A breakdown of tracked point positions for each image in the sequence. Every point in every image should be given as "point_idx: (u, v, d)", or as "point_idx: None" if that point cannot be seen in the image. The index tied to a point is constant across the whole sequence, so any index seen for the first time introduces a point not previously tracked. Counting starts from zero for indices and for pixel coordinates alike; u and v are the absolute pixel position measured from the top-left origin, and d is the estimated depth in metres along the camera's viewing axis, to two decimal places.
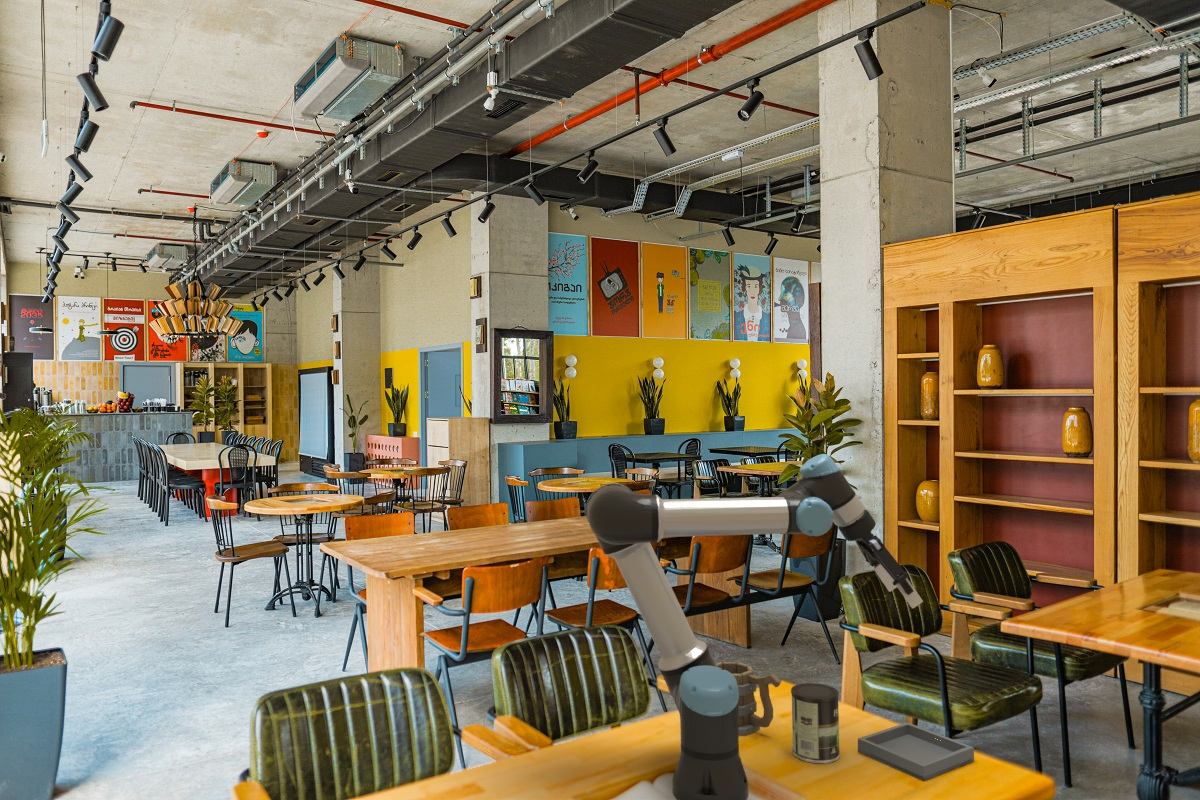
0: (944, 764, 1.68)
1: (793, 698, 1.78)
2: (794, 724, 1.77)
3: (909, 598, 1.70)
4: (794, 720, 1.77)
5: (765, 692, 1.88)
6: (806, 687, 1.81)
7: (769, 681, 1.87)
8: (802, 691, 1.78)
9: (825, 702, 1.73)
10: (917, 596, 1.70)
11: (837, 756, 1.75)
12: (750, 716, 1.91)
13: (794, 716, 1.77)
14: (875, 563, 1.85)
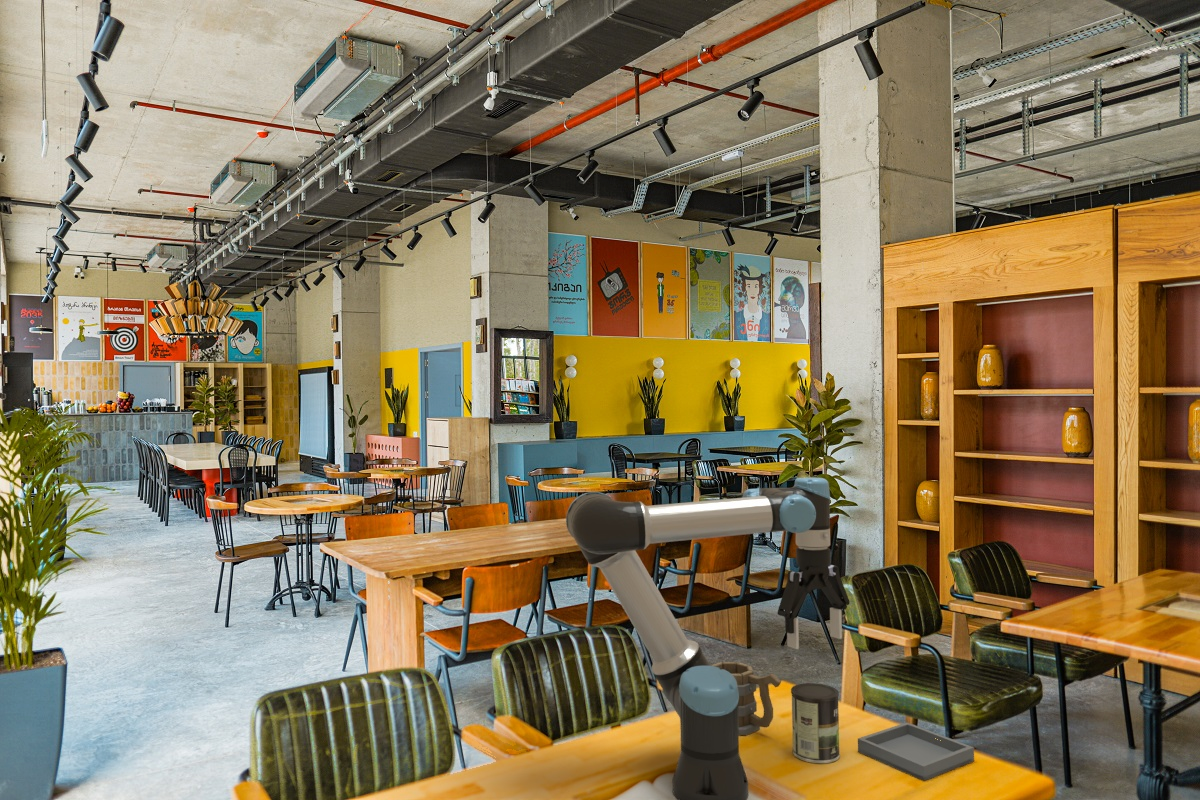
0: (944, 764, 1.68)
1: (793, 698, 1.78)
2: (794, 724, 1.77)
3: (789, 636, 1.75)
4: (794, 720, 1.77)
5: (765, 692, 1.88)
6: (806, 687, 1.81)
7: (769, 681, 1.87)
8: (802, 691, 1.78)
9: (825, 702, 1.73)
10: (794, 641, 1.74)
11: (837, 756, 1.75)
12: (750, 716, 1.91)
13: (794, 716, 1.77)
14: (835, 605, 1.83)
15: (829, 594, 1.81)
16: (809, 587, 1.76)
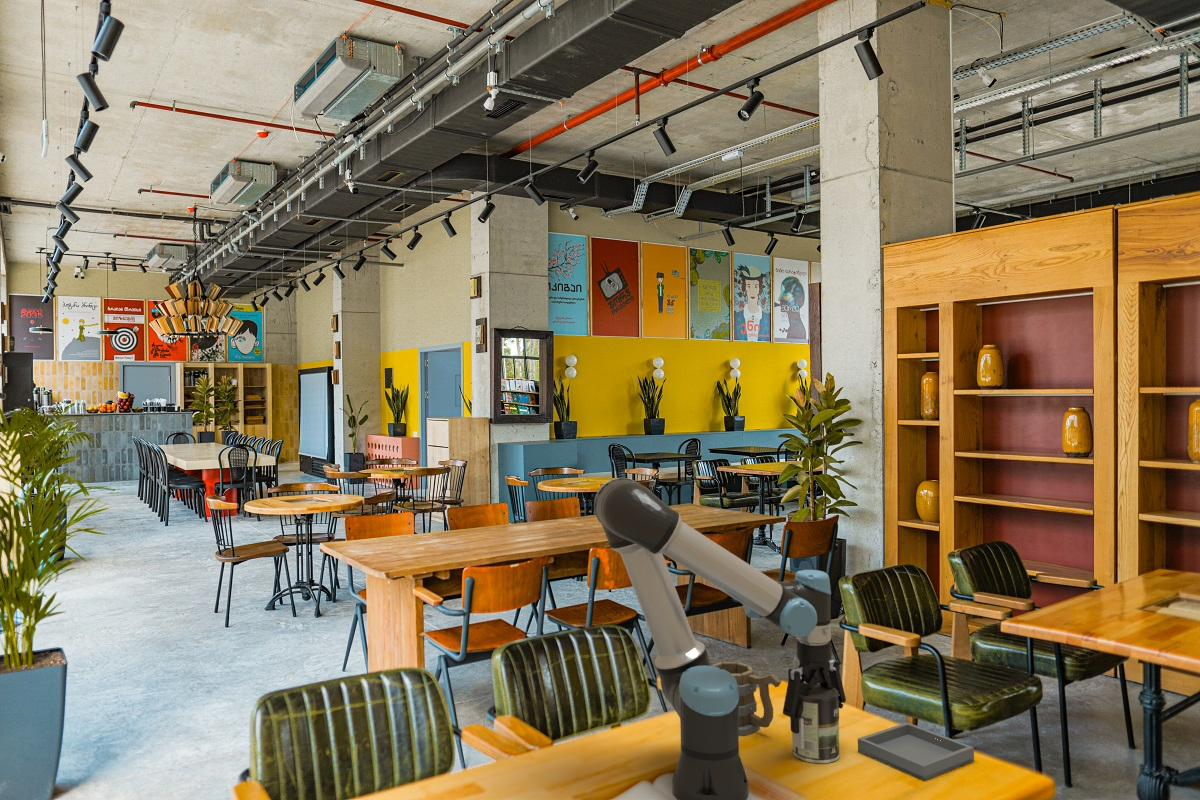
0: (944, 764, 1.68)
1: None
2: None
3: (794, 735, 1.76)
4: None
5: (765, 692, 1.88)
6: None
7: (769, 681, 1.87)
8: None
9: (825, 702, 1.73)
10: (800, 741, 1.74)
11: (837, 756, 1.75)
12: (750, 716, 1.91)
13: None
14: None
15: None
16: (811, 684, 1.75)
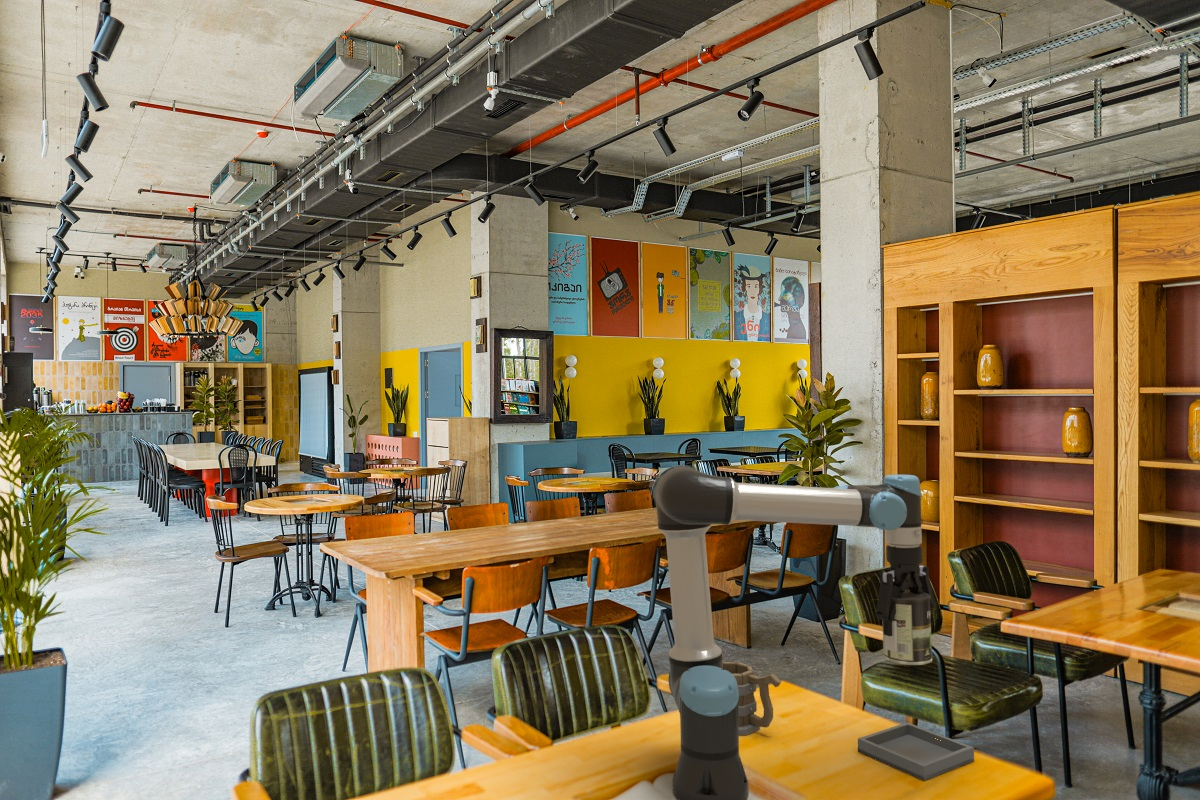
0: (944, 764, 1.68)
1: None
2: None
3: (887, 639, 1.74)
4: None
5: (765, 692, 1.88)
6: None
7: (769, 681, 1.87)
8: None
9: (919, 603, 1.72)
10: (893, 643, 1.73)
11: (930, 658, 1.73)
12: (750, 716, 1.91)
13: None
14: None
15: None
16: (903, 586, 1.74)
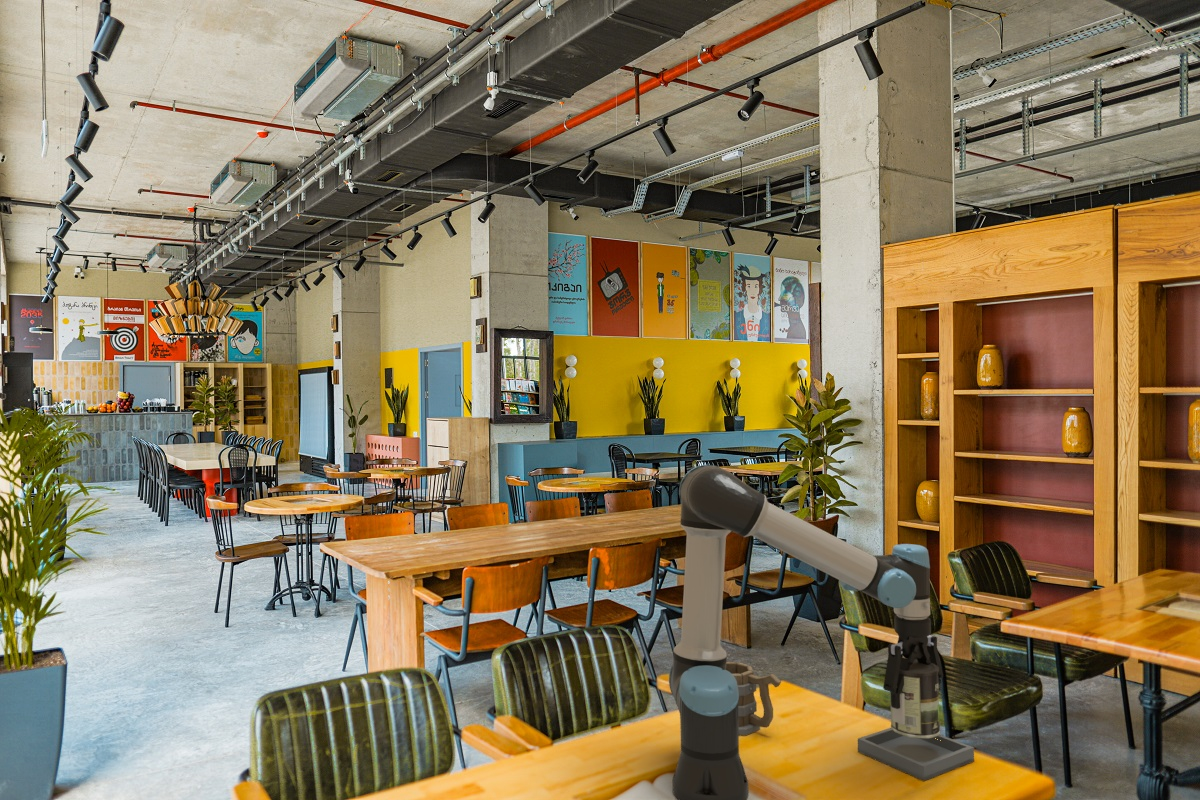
0: (944, 764, 1.68)
1: None
2: None
3: (894, 711, 1.74)
4: None
5: (765, 692, 1.88)
6: None
7: (769, 681, 1.87)
8: None
9: (927, 676, 1.71)
10: (901, 716, 1.72)
11: (938, 731, 1.73)
12: (750, 716, 1.91)
13: None
14: None
15: None
16: (911, 659, 1.73)
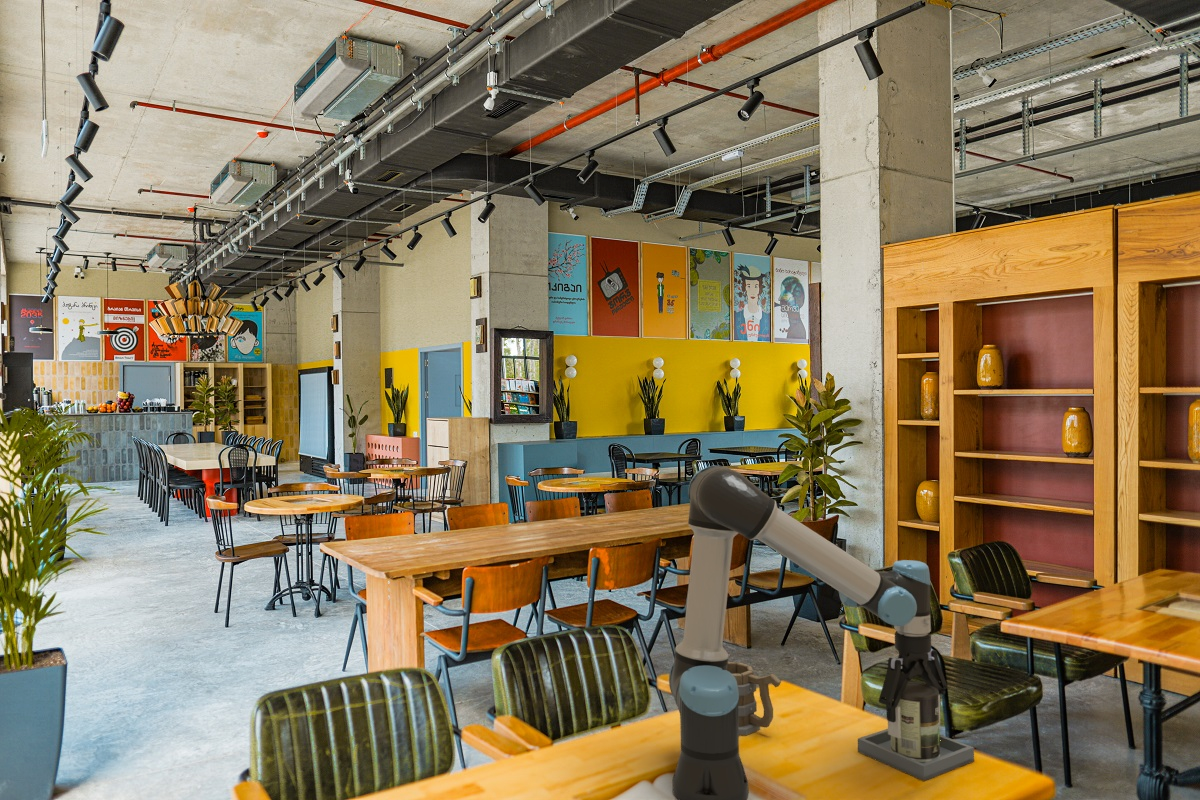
0: (944, 764, 1.68)
1: None
2: None
3: (890, 724, 1.73)
4: None
5: (765, 692, 1.88)
6: None
7: (769, 681, 1.87)
8: None
9: (927, 700, 1.71)
10: (896, 730, 1.72)
11: (938, 755, 1.73)
12: (750, 716, 1.91)
13: None
14: None
15: (928, 679, 1.78)
16: (910, 674, 1.73)
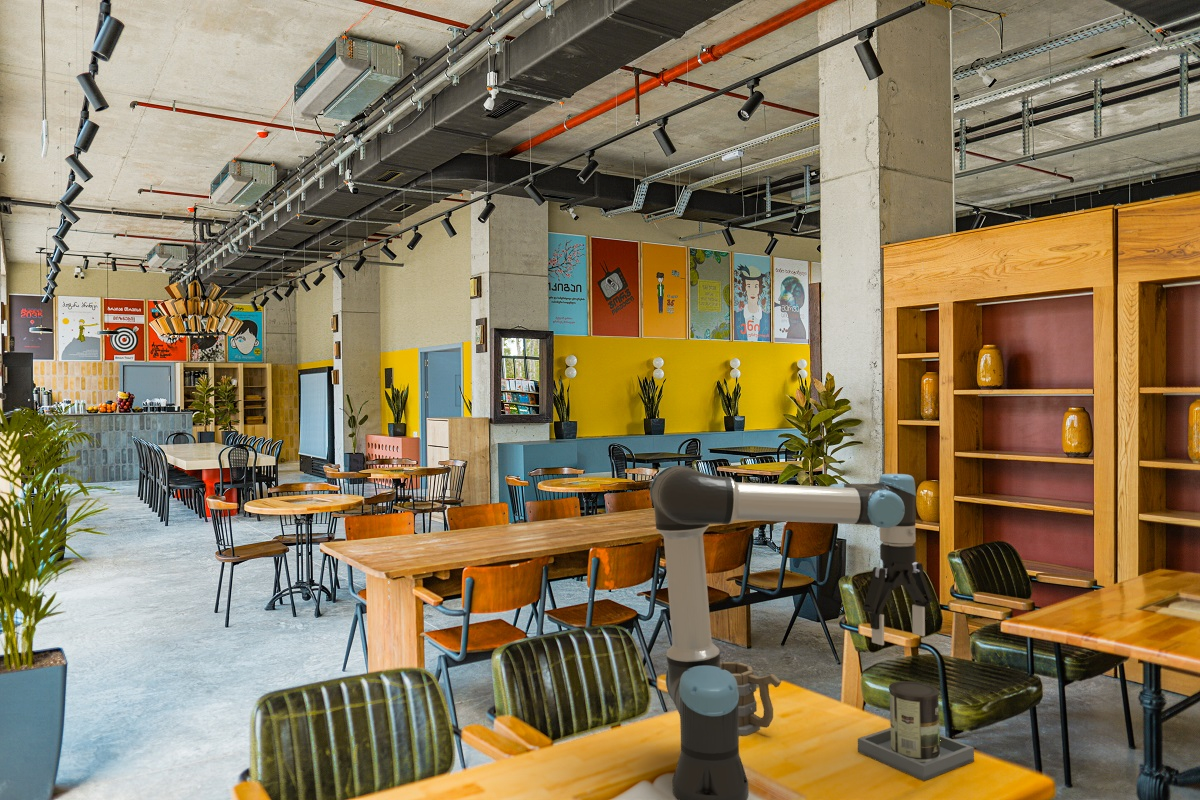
0: (944, 764, 1.68)
1: (892, 696, 1.75)
2: (893, 723, 1.75)
3: (874, 632, 1.75)
4: (893, 718, 1.75)
5: (765, 692, 1.88)
6: (904, 685, 1.79)
7: (769, 681, 1.87)
8: (901, 689, 1.76)
9: (927, 700, 1.71)
10: (880, 637, 1.74)
11: (938, 755, 1.73)
12: (750, 716, 1.91)
13: (893, 714, 1.75)
14: (918, 603, 1.82)
15: (913, 591, 1.80)
16: (894, 583, 1.75)
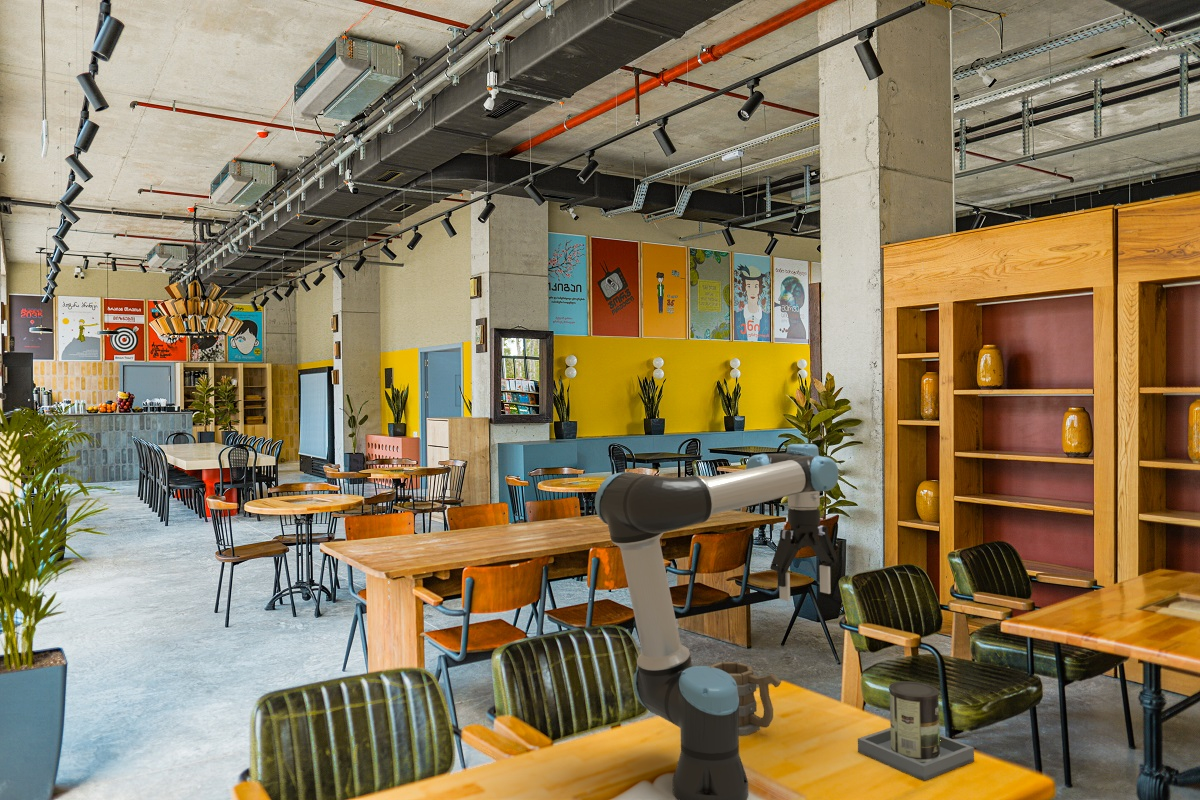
0: (944, 764, 1.68)
1: (892, 696, 1.75)
2: (893, 723, 1.75)
3: (781, 589, 1.90)
4: (893, 718, 1.75)
5: (765, 692, 1.88)
6: (904, 685, 1.79)
7: (769, 681, 1.87)
8: (901, 689, 1.76)
9: (927, 700, 1.71)
10: (786, 594, 1.88)
11: (938, 755, 1.73)
12: (750, 716, 1.91)
13: (893, 714, 1.75)
14: (824, 563, 1.97)
15: (819, 552, 1.95)
16: (800, 544, 1.90)
